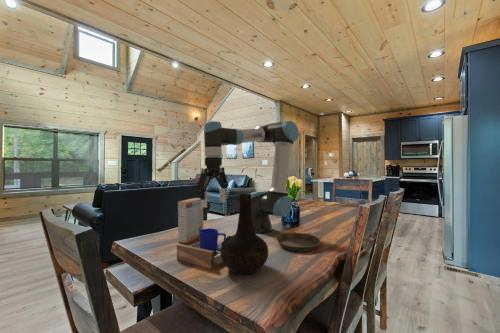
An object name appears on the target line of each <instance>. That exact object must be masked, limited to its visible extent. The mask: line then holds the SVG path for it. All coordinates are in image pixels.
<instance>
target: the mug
mask: <svg viewBox="0 0 500 333" xmlns="http://www.w3.org/2000/svg"><path fill="white" fill-rule="evenodd" d="M219 236H223V241H224V240H225V238H227V233H223V232H219V230H218V229H217V228H203V229H202V230H200V231H199V238H198V239H199V242H200V248H201V249H205V250H210V251H214V255H215V254H216V253H217V252H221V248H218V242H219V240H218V239H219Z"/></svg>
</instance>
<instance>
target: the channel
mask: <svg viewBox="0 0 500 333" xmlns="http://www.w3.org/2000/svg"><path fill="white" fill-rule="evenodd" d="M176 260H178V261H180V262H181V261H182V262H185V263H187V264H193V265H197V266H200V267H203V268H208V269H214V268H215V267H217V266H218V265H220V264H222V263H224V262H223V260H222V258H221V252H219V254H217V255H215V254H214V251H210V250H205V249H201V248H200V241H197V242H195V243H193V244H191V245H186V244H183V243H177V244H176Z"/></svg>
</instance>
